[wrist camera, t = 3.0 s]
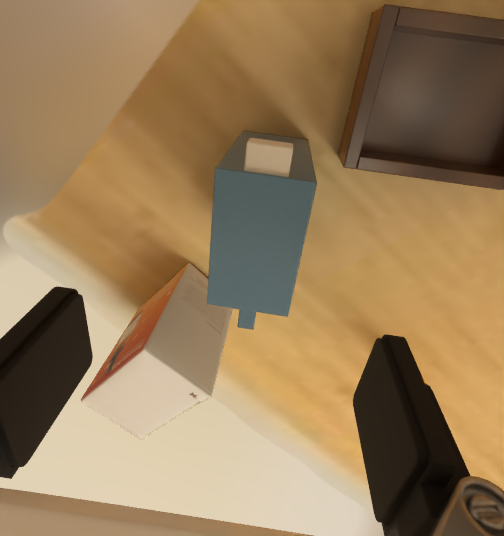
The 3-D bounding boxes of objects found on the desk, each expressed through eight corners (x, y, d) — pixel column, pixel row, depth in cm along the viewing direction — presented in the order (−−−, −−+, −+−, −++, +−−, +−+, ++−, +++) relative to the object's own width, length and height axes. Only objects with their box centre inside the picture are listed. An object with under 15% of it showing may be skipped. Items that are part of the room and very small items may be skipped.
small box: (190, 259, 29) (144, 346, 20) (237, 301, 31) (214, 397, 22) (136, 309, 33) (76, 402, 24) (181, 343, 34) (141, 443, 25)
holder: (568, 37, 20) (612, 33, 17) (499, 179, 24) (525, 193, 21) (371, 12, 20) (383, 3, 17) (337, 156, 24) (343, 167, 21)
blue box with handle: (312, 120, 23) (323, 153, 14) (284, 265, 29) (280, 350, 20) (245, 110, 23) (216, 137, 15) (230, 257, 29) (204, 338, 20)
